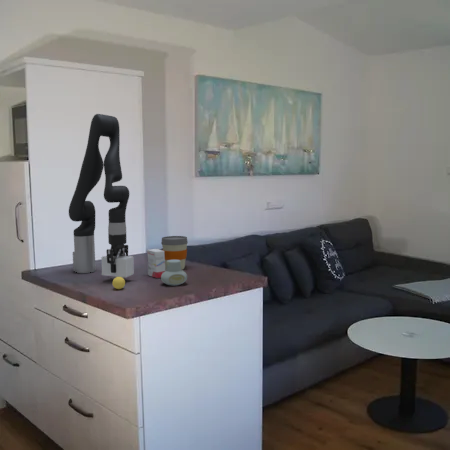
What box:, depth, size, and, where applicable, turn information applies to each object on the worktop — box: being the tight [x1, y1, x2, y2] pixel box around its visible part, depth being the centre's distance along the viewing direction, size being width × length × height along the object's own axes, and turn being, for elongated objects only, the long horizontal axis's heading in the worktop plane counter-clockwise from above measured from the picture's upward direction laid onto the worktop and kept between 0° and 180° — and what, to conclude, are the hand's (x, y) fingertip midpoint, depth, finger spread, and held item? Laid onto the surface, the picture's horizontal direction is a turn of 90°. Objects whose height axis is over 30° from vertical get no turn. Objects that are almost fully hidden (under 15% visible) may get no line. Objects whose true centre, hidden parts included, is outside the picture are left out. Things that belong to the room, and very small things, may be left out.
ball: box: [111, 276, 126, 290], centre depth 204 cm, size 5×5×5 cm
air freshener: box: [160, 260, 188, 287], centre depth 211 cm, size 11×8×10 cm
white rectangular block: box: [101, 255, 135, 278], centre depth 218 cm, size 12×7×8 cm, turn 71°
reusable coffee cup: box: [160, 235, 188, 271], centre depth 243 cm, size 13×12×15 cm
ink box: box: [146, 248, 166, 279], centre depth 227 cm, size 9×5×12 cm, turn 33°
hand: (118, 270), depth 218 cm, fingers closed on white rectangular block, 6 cm apart
